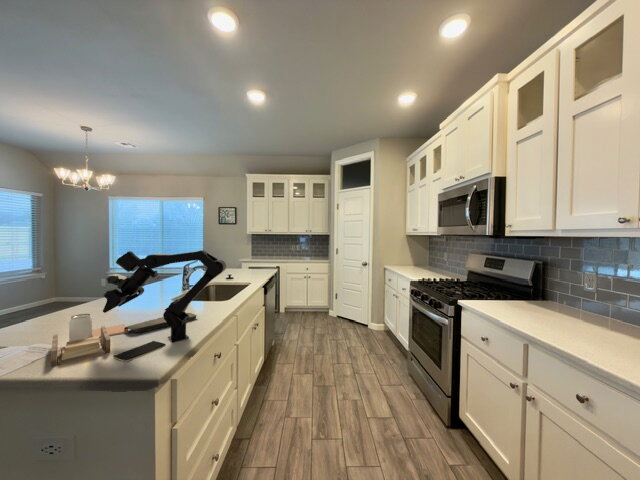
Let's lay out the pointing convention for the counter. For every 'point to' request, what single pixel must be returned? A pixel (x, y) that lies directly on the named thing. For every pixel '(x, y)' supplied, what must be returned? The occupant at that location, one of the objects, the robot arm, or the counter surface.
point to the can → (80, 327)
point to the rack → (80, 348)
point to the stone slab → (154, 324)
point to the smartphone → (139, 351)
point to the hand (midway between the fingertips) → (111, 308)
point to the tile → (110, 330)
